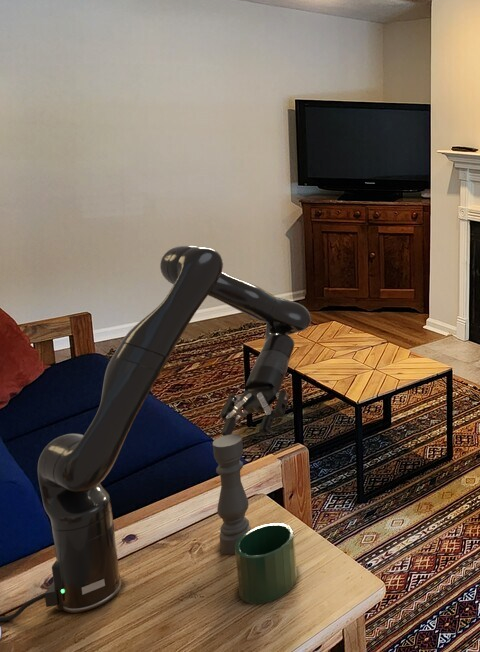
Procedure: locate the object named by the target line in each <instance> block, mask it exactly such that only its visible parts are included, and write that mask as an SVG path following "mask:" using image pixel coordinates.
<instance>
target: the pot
mask: <svg viewBox="0 0 480 652" xmlns="http://www.w3.org/2000/svg"><path fill="white" fill-rule="evenodd" d="M295 544H296V543H295V532H294V529H293V528H292V527H291V526H290V525H289V524H285V523H281V522H280V523H277V522H276V523H275V522H273V523H268V524H262V525H260V526H256V527H254V528H251V530H250V531H248V532H247V533H245V534H244V535H243V536H241V538H240V539H239V540H238V541H237V543H236V546H235V554H234V555H235V563H236V574H237V575H236V576H237V586H238V589H237V590H238V596H239V598H240V599H241V600H242V601H243V602H245V603H248V604H256V605H257V604H258V605H259V604H264V603H269V602H273V601H274V600H277V599H279V598H281V597H283V596H284V595H286V594H287V593H288V592H289V591H290V590H291V589H292V588H293V587H294V585H295V583H296V582H297V576H298V573H297V572H298V569H297V557H296V545H295Z"/></svg>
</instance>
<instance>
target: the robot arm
mask: <svg viewBox="0 0 480 652" xmlns="http://www.w3.org/2000/svg"><path fill="white" fill-rule="evenodd" d="M223 268H224V262H223V258H222V256H221V254H220V253H219V252H218V251H217V250H215V249H213V248H210V247H203V246H194V245H179V246H175V247H172V248H171V249H168V250H167V251H166V252H165V253H164V254H163V256H162V257H161V260H160V264H159V269H160V272H161V274H162V276H163V278H164V279H165V280H166V281H167V282H168V283H170V284H171V285H172V287H171V289H170V290H169V291H168V293H167V295H166V297H165V298H164V299H163V301H162V302H161V303H160V304H159V305H157V307H156V308H155V309H153V310H152V312H150V313H148V314H147V315H146V316H145V317H144V318H143V319H141V320H140V321H138V323H136V324H135V325H134V326H133V327H132V328H131V329H130V330H129V331H128V333H126V335H125V336H124V337H123V338H122V340H121V342H120V344H119V345H118V346H117V348H116V350H115V352H114V354H113V355H112V357H111V358H110V360H109V362H108V364H107V365H106V369H105V372H104V377H103V384H102V391H101V398H100V403H99V407H98V409H97V412H96V414H95V416H94V418H93V420H92V421H91V423H90V424H89V426H88V428H87V430H86V431H85V432H84V434H81V433H67V434H63V435H60V436H58V437H56V438H54V439H53V440H51V441H50V442H49V443H48V444H47V445H46V446H45V447H44V448H43V450H42V452H41V453H40V455H39V458H38V462H37V478H38V484H39V489H40V494H41V498H42V499H41V500H42V504H43V508H44V511H45V512H46V515H48V517H49V520H50V524H51V530H52V538H53V544H54V552H55V559H56V560H55V561H54V562H53V564H51V565H52V566H51V574H52V580H53V581H52V582H51V584H50V585H49V587H48V588H47V589H46V591H45V592H44V593H42V594H39V595H37V596H36V597H34V598H32V599H30V600H28V601H27V602H24V603H23V604H22V605H21V606H20V607H19V608H18V609H17V610H16V611H15V612H14V613H12V614H10V615H7V616H0V623H2V622H7V621H10V620H13V619H15V618H17V617H19V616H20V615H21V613H23V612H24V610H26V609H27V608H28V607H30V606H32V605H33V604H34V603H37V602H38V601H40V600H43V599H44V600H45V607H46V608H50V607H55V606H56V608H57V609H56V610H57V611H58V612H59V611H64V612H66V613H71V614H72V613H73V614H76V613H84V612H87V611H91V610H93V609H96V608H99V607H101V606H103V605H104V604H106V603H108V602H109V601H110V600H112V599H113V598H114V597H115V596H116V595H117V594H118V593H119V591H121V588H122V580H121V574H120V567H119V566H120V565H119V558H118V549H117V543H116V533H115V526H114V525H115V524H114V518H113V509H112V500H111V497H110V494H109V492H108V491H107V490H106V489H105V488H104V487H103V485H102V482H103V481H104V480H105V478H106V477H107V476H108V475H109V473H110V472H111V470H112V469H113V467H114V465H115V463H116V461H117V459H118V457H119V454H120V453H121V450H122V447H123V446H124V443H125V441H126V439H127V436H128V434H129V432H130V429H131V427H132V425H133V423H134V421H135V419H136V417H137V416H138V413H139V412H140V410H141V408H142V406H143V405H144V403H145V401H146V399H147V397H148V395H149V394H150V392H151V390H152V388H153V386H154V385H155V383H156V381H157V380H158V378H159V376H160V375H161V373H162V371H163V370H164V368H165V367H166V364H167V363H168V361H169V359H170V358H171V355H172V354H173V352H174V350H175V348H176V346H177V344H178V343H179V341H180V340H181V338H182V336H183V335H184V333H185V331H186V329H187V328H188V326H189V324H190V322H191V320H192V319H193V317H194V315H195V314H196V313H197V311H198V310H199V308H200V307H201V306H202V304H203V302H204V301H205V300H206V299H207V297H208V296H209V297H211V298H214V299H216V300H217V301H220V302H221V303H223V304H226V305H228V306H229V307H232V308H234V309H235V310H237V311H238V312H241V313H243V314H245V315H247V316H248V317H250V318H252V319H254V320H256V321H258V322H261V323H266V324H265V336H264V337H265V339H264V344H263V345H262V348H261V351H260V353H259V355H258V356H257V358H256V360H255V362H254V364H253V366H252V369H251V371H250V374H249V376H248V377H247V381H246V383H245V388H244V391H243V393H242V394H241V395H235V394H234V393H231V394H229V395H228V397H227V400H226V402H225V404H224V405H223V408H222V410H221V411H220V414H219V417H220V418H221V419H222V420H223V422H224V424H223V427H222V429H221V434H222V436H225V435H230V434H233V432H234V430H235V427H236V425H237V424H236V423H237V422H238V421H239V420H240V419H242V418H245V417H246V416H247V415H249V414H254V413H255V414H256V413H258V414H259V413H263V412H264V414H265V415H264V416H263V418H262V420H261V424H260V426H259V429H258V432H259V433H260V434H261V435H262V436H266V435H267V434H268V433H269V432H270V431H271V428H272V425H273V422H274V421H275V420H276V419H277V418H283V417H284V416H285V413H286V410H287V406H288V403H289V400H290V394H289V393H288V392H287V390H286V389H284V388H283V389H282V385H283V383H284V380H285V376H286V374H287V372H288V367H289V363H290V360H291V358H292V356H293V352H294V350H295V341H294V339H293V338H292V336H290V335H293V334H297V333H301V332H303V331H306V330H307V329H308V328H309V327H310V325H311V322H312V315H311V314H310V311H309V310H308V308H306V307H305V306H304V305H303V304H302V303H298V302H296V301H293V300H290V299H286V298H281V297H278V296H275V295H273V294H272V293H271V292H268V291H267V290H265V289H263V288H261V287H259V286H257V285H256V284H252V283H250V282H248V281H245V280H242V279H240V278H237V277H235V276H232V275H230V274H228V273H225V272H223ZM274 402H276V403H275V404H276V405H275V407H274V409H273V407H272V404H274ZM242 408H243V409H244V410H242Z"/></svg>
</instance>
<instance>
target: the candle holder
mask: <svg viewBox="0 0 480 652" xmlns="http://www.w3.org/2000/svg"><path fill="white" fill-rule="evenodd" d="M243 444H244V443H243V435H240V434H238V433H232V434H230V435H225V436H223V435H221V436H219V437H217V438H216V439H214V440H213V441H212V452H213V459H214V460H215V462H216V463H217V467H216V469H215V471H216V474H217V475H219V477H220V492H219V497H218V503H217V508H216V509H217V510H216V511H217V515H218V516H219V518H221V519H222V522H223V523H222V524H221V526H220V529H219V531H220V533H219V545H220V552H221V553H222V554H224V555H236V554H235V546H236V543H237V541H238V540H239V539H240V538H241V536H243V535H244V534H245V533H247V532H248V531H250V530H252V527H251V525H250V521H249V519H248V518H247V517H246V513H247V511H248V509H249V499H248V496H247V493H246V491H245V488H244V486H243V483H242V477H241V470H242V469H243V467H244V462H243V461H242V460H241V458H242V457H243V453H244V446H243Z"/></svg>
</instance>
